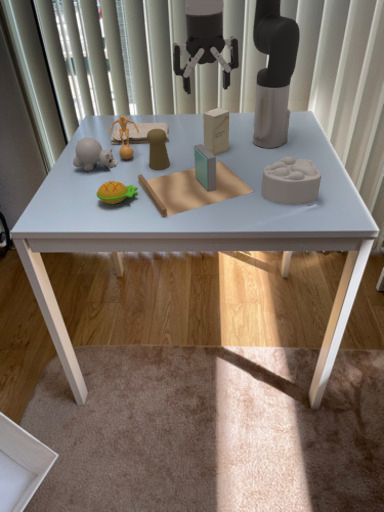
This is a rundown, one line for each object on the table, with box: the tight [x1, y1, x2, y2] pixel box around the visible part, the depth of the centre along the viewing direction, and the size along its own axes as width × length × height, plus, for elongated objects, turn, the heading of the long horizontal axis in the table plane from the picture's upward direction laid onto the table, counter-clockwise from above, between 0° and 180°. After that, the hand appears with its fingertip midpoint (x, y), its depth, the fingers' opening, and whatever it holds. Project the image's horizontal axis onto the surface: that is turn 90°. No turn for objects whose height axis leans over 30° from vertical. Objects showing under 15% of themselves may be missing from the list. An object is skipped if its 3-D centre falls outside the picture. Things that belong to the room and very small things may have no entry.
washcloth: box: [110, 122, 170, 146], centre depth 131 cm, size 12×18×3 cm, turn 93°
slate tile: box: [193, 143, 217, 192], centre depth 102 cm, size 2×8×9 cm, turn 24°
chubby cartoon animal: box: [72, 137, 119, 172], centre depth 114 cm, size 7×12×8 cm, turn 79°
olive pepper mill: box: [147, 129, 171, 171], centre depth 111 cm, size 6×6×11 cm
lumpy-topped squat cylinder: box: [260, 155, 322, 207], centre depth 98 cm, size 10×13×9 cm
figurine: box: [109, 115, 139, 160], centre depth 117 cm, size 8×6×12 cm
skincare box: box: [202, 107, 230, 156], centre depth 116 cm, size 6×4×12 cm
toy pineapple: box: [96, 180, 139, 205], centre depth 101 cm, size 7×10×5 cm
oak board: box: [137, 160, 255, 218], centre depth 104 cm, size 24×18×3 cm
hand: (206, 90), depth 94 cm, fingers open, 8 cm apart
